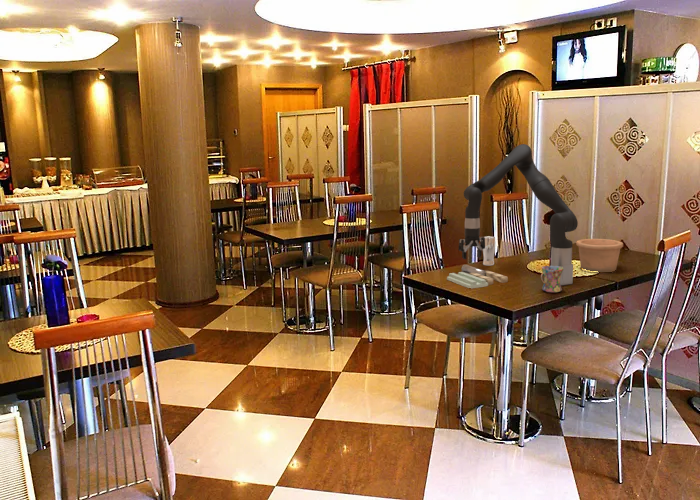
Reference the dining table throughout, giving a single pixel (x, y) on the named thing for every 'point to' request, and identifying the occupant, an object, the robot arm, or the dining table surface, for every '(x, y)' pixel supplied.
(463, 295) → the dining table surface
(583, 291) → the dining table surface
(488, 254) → the beer glass
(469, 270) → the axle
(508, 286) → the dining table surface
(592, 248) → the pottery
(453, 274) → the grooved block
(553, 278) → the mug
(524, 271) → the dining table surface
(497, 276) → the wooden blocks
